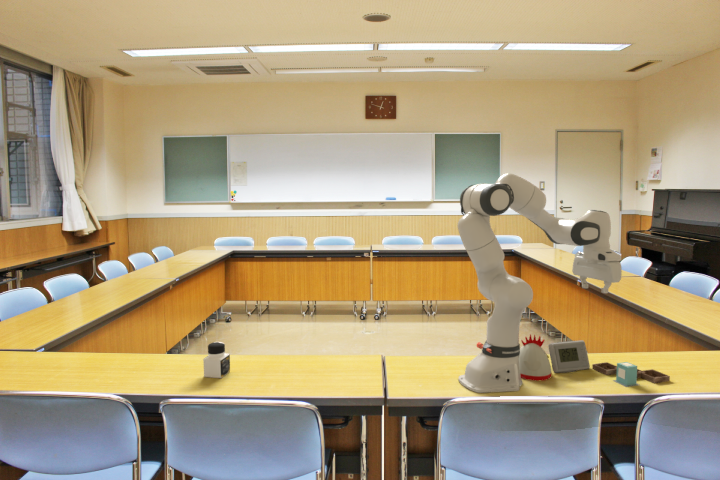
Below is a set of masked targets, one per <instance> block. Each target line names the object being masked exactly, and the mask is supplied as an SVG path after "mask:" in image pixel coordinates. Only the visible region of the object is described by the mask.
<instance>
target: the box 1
mask: <svg viewBox="0 0 720 480" xmlns="http://www.w3.org/2000/svg"><path fill="white" fill-rule="evenodd" d="M591 367H592V370H594V371H596V372H598V373H601V374H603V375H604V376H611V375H612V376H613V375H617V369H615V368H616V367H617V365H615V364H613V363H610V362H608V361H607V362H606V361H605V362H601V363H600V362H599V363H592V366H591Z"/></svg>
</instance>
